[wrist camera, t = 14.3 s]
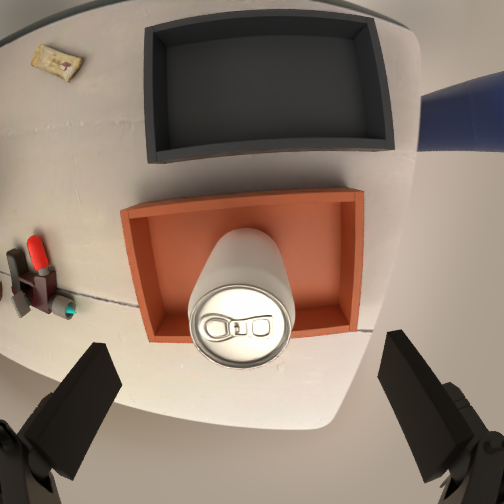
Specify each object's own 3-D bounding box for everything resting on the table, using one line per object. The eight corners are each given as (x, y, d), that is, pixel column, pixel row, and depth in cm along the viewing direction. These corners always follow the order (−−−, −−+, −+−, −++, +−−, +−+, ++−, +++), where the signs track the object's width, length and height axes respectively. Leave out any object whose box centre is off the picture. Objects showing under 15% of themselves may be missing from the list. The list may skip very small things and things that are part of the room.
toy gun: (83, 319, 29) (63, 340, 24) (19, 291, 28) (-1, 305, 24) (82, 245, 26) (56, 259, 22) (15, 224, 26) (-10, 234, 21)
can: (208, 228, 25) (172, 278, 14) (280, 224, 25) (301, 273, 14) (215, 293, 27) (191, 374, 16) (281, 290, 27) (297, 372, 16)
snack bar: (29, 65, 19) (35, 44, 17) (37, 64, 20) (44, 43, 19) (68, 83, 20) (76, 58, 19) (77, 82, 21) (86, 58, 20)
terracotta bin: (347, 187, 24) (364, 191, 20) (344, 309, 28) (357, 331, 24) (139, 203, 25) (119, 210, 21) (161, 320, 29) (148, 342, 25)
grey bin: (358, 35, 20) (373, 17, 16) (374, 151, 23) (395, 149, 19) (159, 45, 20) (144, 27, 16) (164, 163, 24) (147, 163, 20)
